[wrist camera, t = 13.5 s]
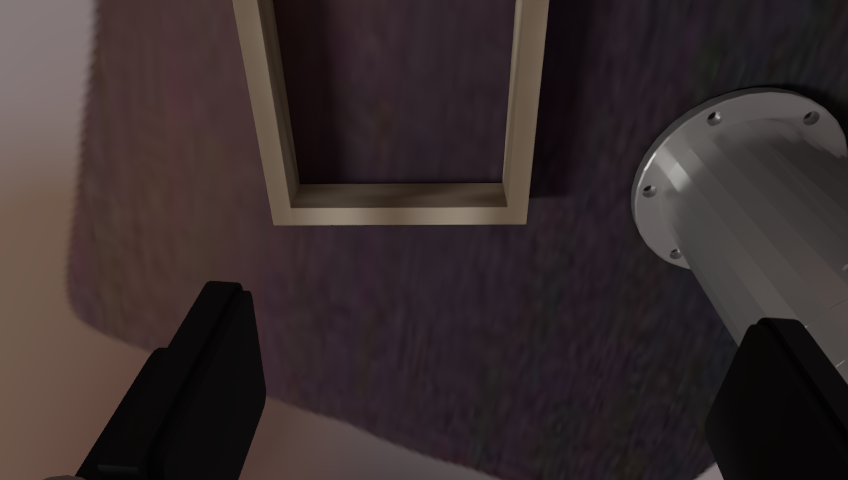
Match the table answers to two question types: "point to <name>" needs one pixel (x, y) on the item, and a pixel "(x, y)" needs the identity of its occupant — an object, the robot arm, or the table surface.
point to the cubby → (390, 200)
